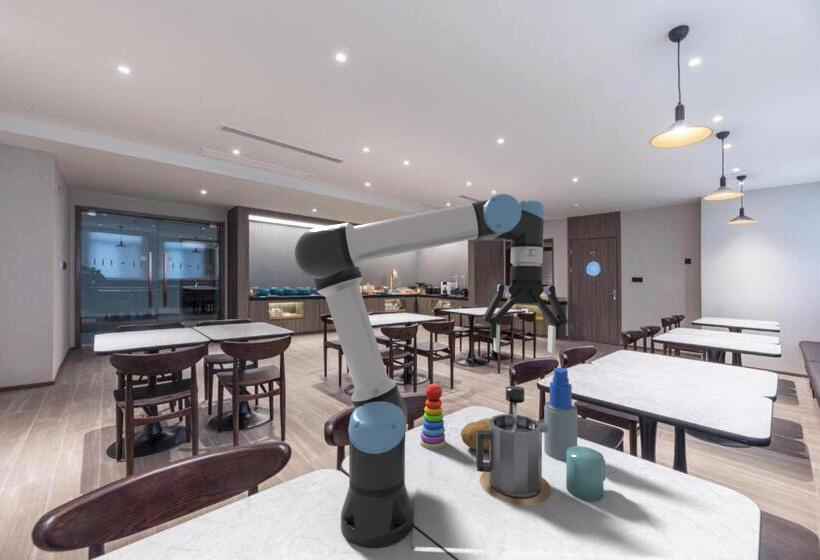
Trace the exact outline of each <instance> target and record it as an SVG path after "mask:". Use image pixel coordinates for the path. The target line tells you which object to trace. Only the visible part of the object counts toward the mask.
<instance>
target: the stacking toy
mask: <svg viewBox="0 0 820 560" xmlns="http://www.w3.org/2000/svg"><path fill="white" fill-rule="evenodd" d="M442 389H443V388H442V387H441V386H440V385H439V384H437V383H431V384H429V385H427V386H426V389H425V395H426V398H427V399H426V401H425V407H424V409H423V411H424V414H423V421H422V425H423V426H422V428H421V432H420V441H419V445H420V446H421V447H422V448H425V449H427V450H440V449H442V448H443V449H444V447H446V444H447V441H446V440H447V439H446V434H445V431H446V429H445V426H444V425H445V421H444V414H443V407H442V404H443V402H442V400H441V399H440V398H442V396H443V390H442Z"/></svg>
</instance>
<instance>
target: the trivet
mask: <svg viewBox="0 0 820 560" xmlns="http://www.w3.org/2000/svg"><path fill="white" fill-rule="evenodd" d="M479 484H480V487H481V488H482V489H483V491H484V492H486V493H487V494H488V495H489V496H490V497H492V498H494V499H495V500H498V501H499V502H503V503H506V504H510V505H514V506H527V507H528V506H537V505H540V504H543V503H544V502H547V501H548V500H549V499H550V498H551V495H552V491H553V490H552V486H551V485H550V483H549V482H548V480H547V479H545V478H544V477H543V476H542V485H541V492H540V494H539V495H537V496H536V497H533V498H530V499H515V498H510V497H507V496H504V495H502V494H500V493H498V492H496V491H495V490H494V489H493V488H492V487H491V486H490V483H489V472H482V474H481V475H480V477H479Z"/></svg>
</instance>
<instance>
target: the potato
mask: <svg viewBox="0 0 820 560" xmlns="http://www.w3.org/2000/svg"><path fill="white" fill-rule="evenodd" d="M491 418H492V417H491ZM491 418H482V419H480V420H476V421H472V422H469V423H467V424H466V425H465V426H464V427H463V428H462V429H461V431H460V436H461V440H462V441H463V443H464V444H465V445H466V446H468V448H470V449H472V450H475V451H476V430H477V431H479V430H489V420H490V419H491ZM484 451H485V452H486V451H487V452H489V439H483V452H484Z"/></svg>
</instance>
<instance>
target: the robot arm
mask: <svg viewBox="0 0 820 560" xmlns="http://www.w3.org/2000/svg"><path fill="white" fill-rule="evenodd" d="M544 227H545V209H544V204H543V203H542V202H541V201H537V200H532V199H530V200H529V199H528V200H517V198H516V197H514V196H512V195H510V194H507V193H499V194H495V195H493V196H490V197H489V198H488V199H485V200H480V201H476V202H475V201H474V202H472V203H470V202H469V203H465V204H459V205H455V206H450V207H445V208H441V209H440V208H439V209H435V210H430V211H429V210H428V211H424V212H420V213H419V212H418V213H414V214H409V215H404V216H399V217H394V218H388V219H385V220H379V221H374V222H370V223H365V224H359V225H353V224H351V223H350V222H343V223H338V224H331V225H325V226H324V225H323V226H319V227H314V228H311V229H309V230H307V231H305V232H304V233H303V234H301V236H300V237H299V238H298V240H297V242H296V245H295V247H294V256H295V257H294V258H295V261H296V263H297V267H298V268H299V269H300V271H302V272H303V273H304V274H305V275H306V276H308V277H310V278H312V280H313V283H314V286H315V289H316V292H317V294H319V295H322V296H323V297H325V300H326V303H327V306H328V308H329V312H330V314H331V319H332V322H333V325H334V327H335V330H336V335H337V337H338V339H339V343H340V345H341V346H340V347H341V349H342V352H343V355H344V359H345V362H346V364H347V365H346V366H347V369H348V371H349V375H350V377H351V381H352V384H353V387H354V391H353V393H352V396H351V397H350V399H351V401H352V404H353V407H354V410H353V411H352V413H351V414H350V418H349V425H348V431H347V433H348V439H349V440H348V441H349V444H348V447H349V449H348V450H349V455H348V456H349V462H348V463H349V465H348V468H349V471H348V473H349V475H348V477H349V479H348V480H349V481H348V482H349V487H348V489H347V491H346V496H345V499H344V502H343V505H342V509H341V511H340V513H341V514H340V530H341V533H342V534H343V535H344V536H343V537H345V538H346V539H347V540H348V541H349V542H351V543H353V544H354V545H358V546H361V547H365V548H382V547H386V546H390V545H393V544H396V543H398V542H400V541H402V540H403V539H404V538H405V537H406V536H408V535H409V533H410V532H411V530H412V528H413V524H414V509H413V505H412V502H411V499H410V495H409V493H408V489H407V487H406V484H405V482H406V481H405V480H406V479H405V477H406V473H405V471H406V470H405V468H406V464H405V463H406V458H405V457H406V451H405V450H406V432H407V423H408V418H409V417H408V414H409V413H408V406H407V403H406V401H405V399H404V398H403V396H402V395H401V394H400V391H399V387H398V384H397V381H396V380H395V379H392V378H390V377H389V376H388V374H387V370H386V367H385V363H384V360H383V357H382V355H381V351H380V348H379V345H378V342H377V339H376V335H375V332H374V330H373V327H372V323H371V320H370V316H369V313H368V310H367V308H366V307H367V306H366V305H365V301H364V299H363V295H362V291H361V288H360V284H361V282H362V281H363V276H362V272H361V269H360V264H362V262H366V261H371V260H377V259H380V258H381V259H382V258H385V257H390V256H395V255H400V254H405V253H406V254H407V253H409V252H416V251H420V250H425V249H429V248H430V249H431V248H435V247H441V246H445V245H450V244H455V243H459V242H465V241H470V240H471V241H476V242H478V241H505V242H506V241H508V242H509V241H510V264H512V266H511V267H510V269H509V271H510V272H509V285H504V284H500V283H498V284H497V285H496V289H495V294H494V295H493V297H492V300H491V302H490V303H489V305H488V307H487V309H486V311H485V313H484V315H482V320H483V322H486V323H488V324H489V336H490V338H492V339H493V345H492V346H493V348H492V350H493V351H494V352H495V353H500V345H501V344H500V341H501V338H500V337H501V325H500V324H498V323H499V322H500V321H501V320H502V318H504V316H505V315H506V314H507V313H508V312H509V311H510V309H512V308H513V307H514V305H516V304H517V303H518V304H529V305H530V304H531V305H532V304H535V305H536V306H537V307H538V309H539V310H540V311H541V313H542V314H543V315H544V317H545V318H546V319H547V320H548V322H549V323H551V325H550V324H548V325H547V326H548V327H547V352H548V353H550V354H553V355H554V354H556V340H559V338H560V327H562V325H566V324H568V318H567V316H566V314H565V312H564V310H563V308H562V306H561V303H560V302H559V299H558V296H557V295H556V294H557V293H556V287H555V286H554V285H547V286H543V267H542V266H541V265H542V264H543V260H544V259H543V258H544V232H545V231H544V230H545V229H544ZM507 292H508V293H509V294H510V296H509V297H508V298H507V300H506V301H505V303H504V304H503V305H502V306H501V307H500V308H499V310H497V307H498V306H499V305H500V302H501V301H502V298H503V296H504V295H505V294H506V293H507ZM543 293H544V294H545V295H546V296H547V299H548V301H549V303H550V305H551V308H552V310H553V311H552V310H550V308H549V307H548V306H547V305H546V303H545V301H544V300H543V298H542V297H541V295H542V294H543ZM496 310H497V312H496ZM495 312H496V313H495ZM553 312H554V313H553ZM494 313H495V314H494ZM554 314H555V315H554Z"/></svg>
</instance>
